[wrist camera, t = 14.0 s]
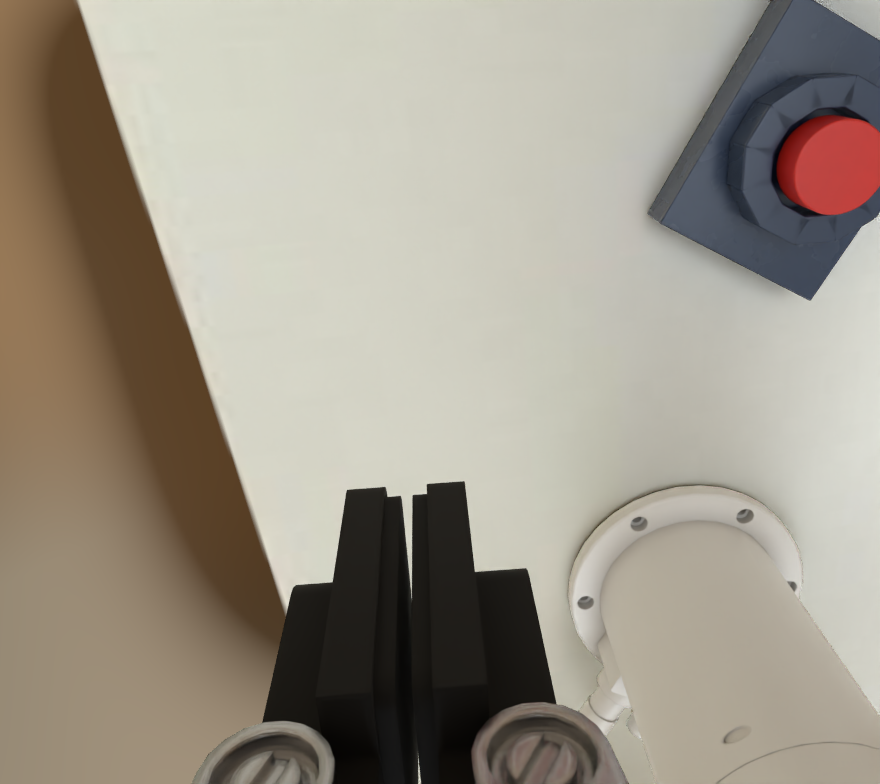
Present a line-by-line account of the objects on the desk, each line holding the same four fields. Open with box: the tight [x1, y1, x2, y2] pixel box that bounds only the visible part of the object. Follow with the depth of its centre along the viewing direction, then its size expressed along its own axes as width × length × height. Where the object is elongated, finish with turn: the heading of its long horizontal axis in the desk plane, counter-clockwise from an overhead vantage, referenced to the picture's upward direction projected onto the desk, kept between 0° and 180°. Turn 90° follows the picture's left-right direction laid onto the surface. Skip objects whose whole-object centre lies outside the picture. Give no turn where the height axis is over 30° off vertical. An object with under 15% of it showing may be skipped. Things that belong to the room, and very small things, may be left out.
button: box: [776, 115, 880, 215], centre depth 32 cm, size 4×4×2 cm
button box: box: [648, 0, 880, 300], centre depth 34 cm, size 10×8×4 cm
